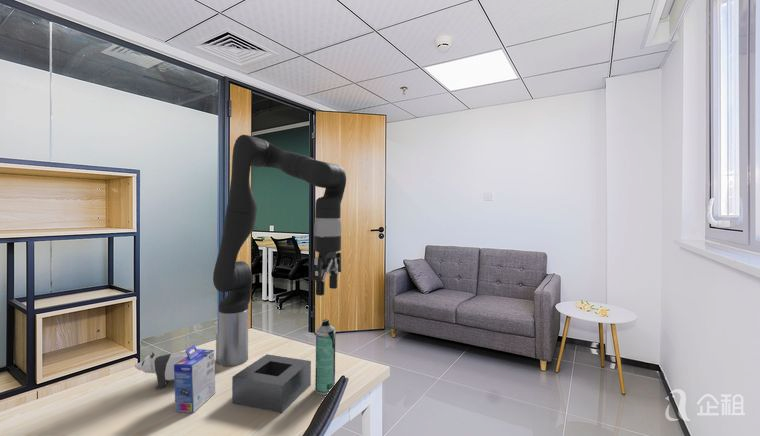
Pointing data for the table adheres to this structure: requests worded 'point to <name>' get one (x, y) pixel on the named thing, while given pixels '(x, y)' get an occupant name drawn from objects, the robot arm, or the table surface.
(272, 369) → the square collar
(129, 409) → the table surface
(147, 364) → the giant panda
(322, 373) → the spray can
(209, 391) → the ink cartridge box
